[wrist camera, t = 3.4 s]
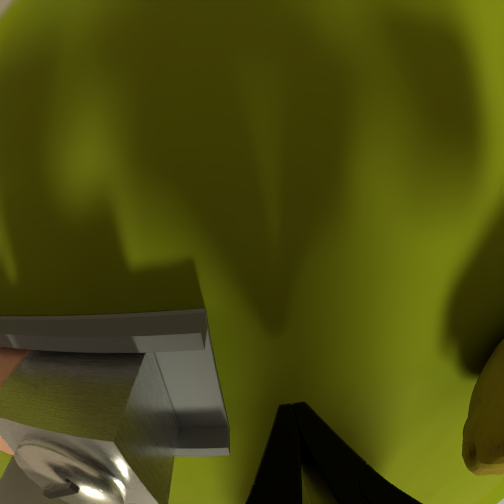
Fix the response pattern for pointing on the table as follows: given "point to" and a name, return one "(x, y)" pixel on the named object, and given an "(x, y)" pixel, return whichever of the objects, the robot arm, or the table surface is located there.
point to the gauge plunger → (91, 426)
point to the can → (22, 488)
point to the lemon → (486, 420)
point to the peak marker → (3, 365)
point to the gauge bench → (145, 341)
